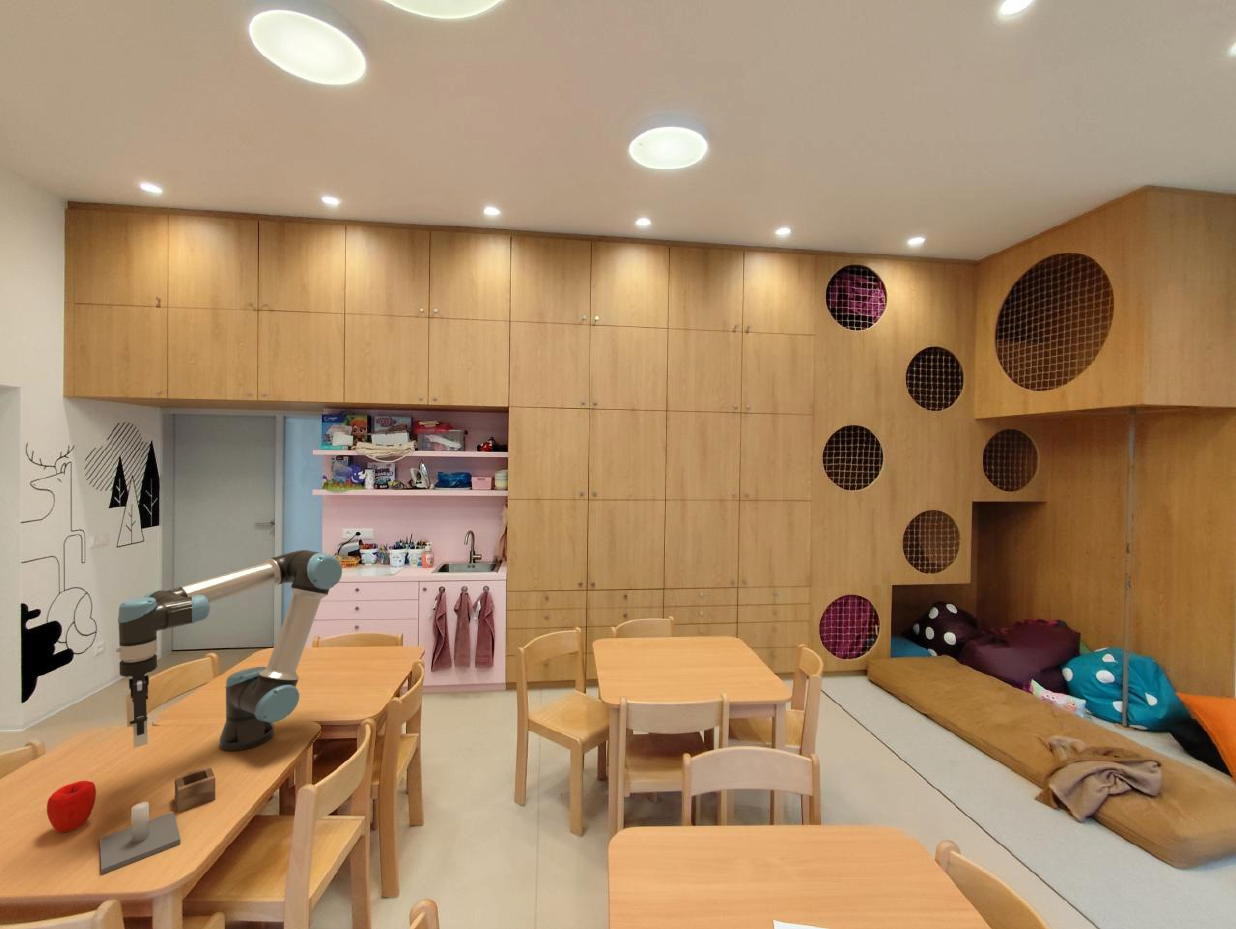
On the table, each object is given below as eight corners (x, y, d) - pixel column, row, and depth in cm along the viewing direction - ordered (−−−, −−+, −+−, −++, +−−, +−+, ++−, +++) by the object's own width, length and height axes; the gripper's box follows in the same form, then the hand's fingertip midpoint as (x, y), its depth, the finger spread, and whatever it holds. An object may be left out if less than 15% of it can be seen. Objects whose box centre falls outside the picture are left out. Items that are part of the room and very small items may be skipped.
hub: (210, 786, 154) (210, 765, 154) (215, 799, 148) (215, 777, 148) (174, 798, 148) (174, 777, 148) (178, 812, 143) (178, 790, 142)
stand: (173, 816, 141) (173, 781, 141) (180, 843, 131) (180, 806, 131) (100, 842, 131) (100, 805, 131) (101, 874, 121) (101, 834, 121)
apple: (64, 842, 131) (64, 799, 131) (36, 838, 133) (36, 794, 132) (105, 818, 140) (105, 777, 140) (78, 814, 141) (78, 774, 141)
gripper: (119, 647, 150) (120, 722, 150) (119, 675, 131) (120, 760, 132) (154, 641, 155) (156, 713, 155) (159, 667, 136) (160, 749, 137)
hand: (139, 735), depth 144 cm, fingers open, 13 cm apart
